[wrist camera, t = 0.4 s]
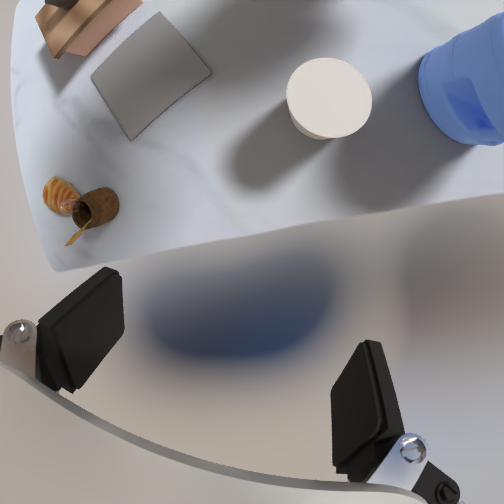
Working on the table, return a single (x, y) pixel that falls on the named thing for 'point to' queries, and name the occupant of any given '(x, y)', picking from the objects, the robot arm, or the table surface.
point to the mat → (148, 74)
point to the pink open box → (101, 26)
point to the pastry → (59, 195)
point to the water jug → (467, 84)
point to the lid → (66, 21)
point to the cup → (328, 99)
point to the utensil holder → (93, 210)
